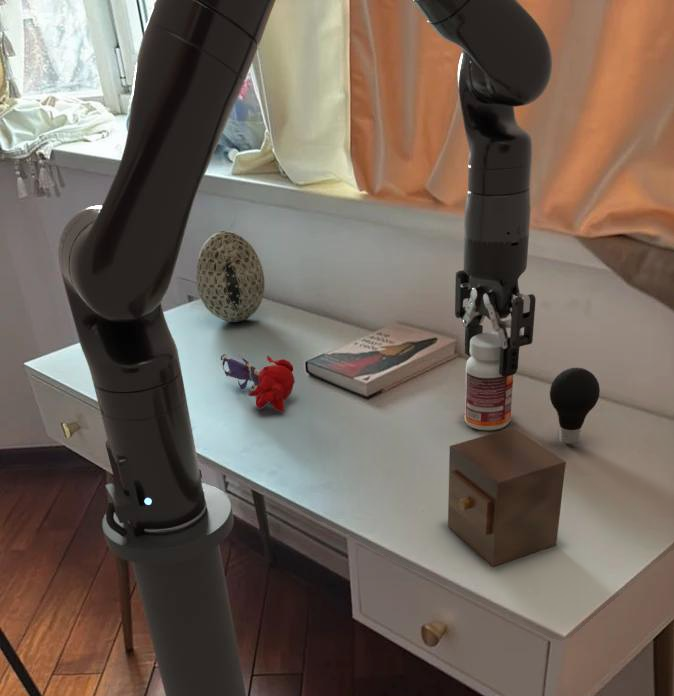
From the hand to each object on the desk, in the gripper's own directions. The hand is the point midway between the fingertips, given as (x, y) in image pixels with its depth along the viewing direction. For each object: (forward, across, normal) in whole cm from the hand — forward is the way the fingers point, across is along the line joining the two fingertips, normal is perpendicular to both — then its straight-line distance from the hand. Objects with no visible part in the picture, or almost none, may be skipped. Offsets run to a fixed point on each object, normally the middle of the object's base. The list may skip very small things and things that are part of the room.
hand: (490, 364), depth 109 cm
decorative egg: (+8, -58, -15) cm, 60 cm away
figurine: (+8, -24, -24) cm, 35 cm away
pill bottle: (+8, 0, 0) cm, 8 cm away
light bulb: (+8, +11, +5) cm, 15 cm away
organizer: (+8, +24, -14) cm, 29 cm away
